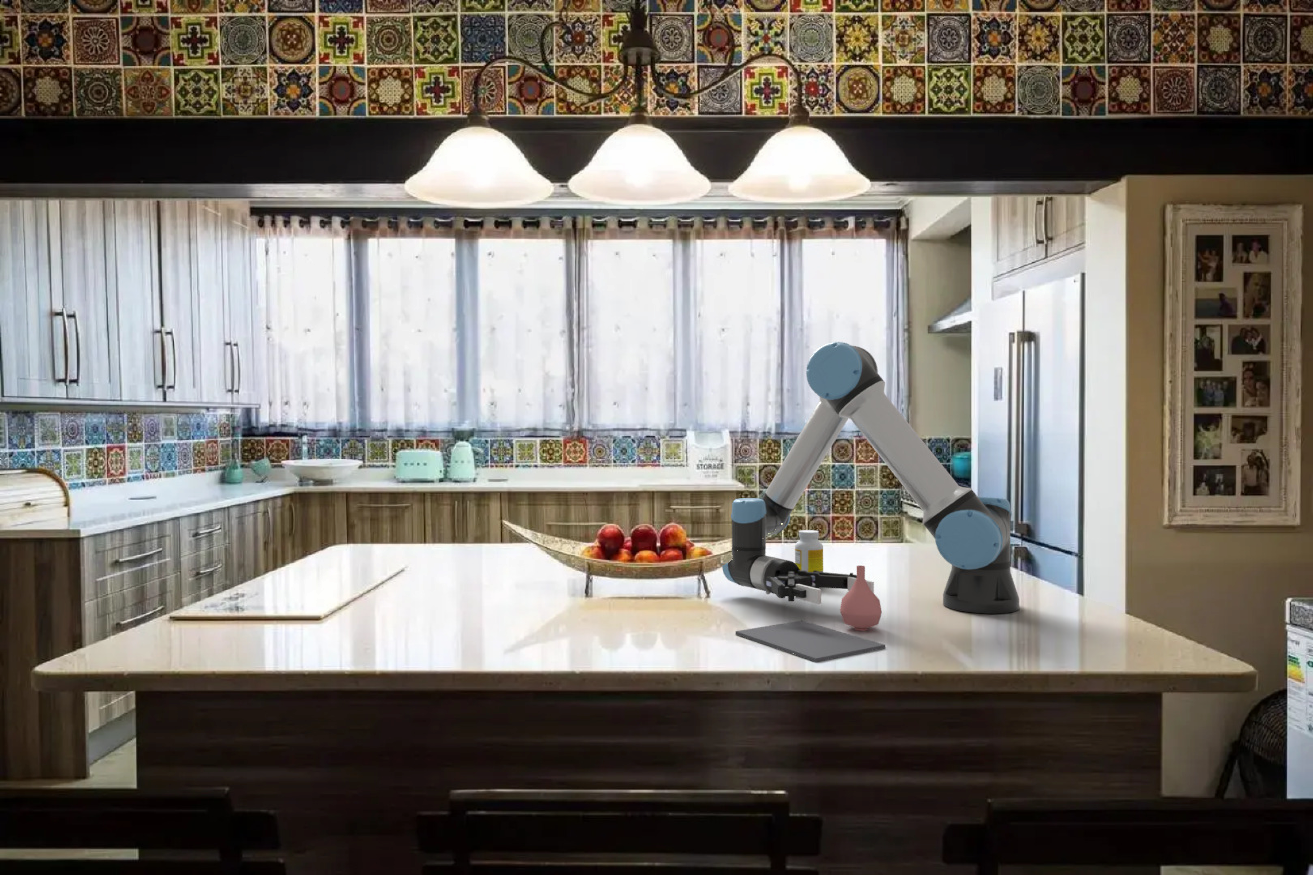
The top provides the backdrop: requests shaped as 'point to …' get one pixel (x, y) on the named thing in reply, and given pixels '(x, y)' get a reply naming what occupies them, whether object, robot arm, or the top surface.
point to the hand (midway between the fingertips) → (846, 592)
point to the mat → (810, 640)
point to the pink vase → (860, 604)
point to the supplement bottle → (809, 552)
